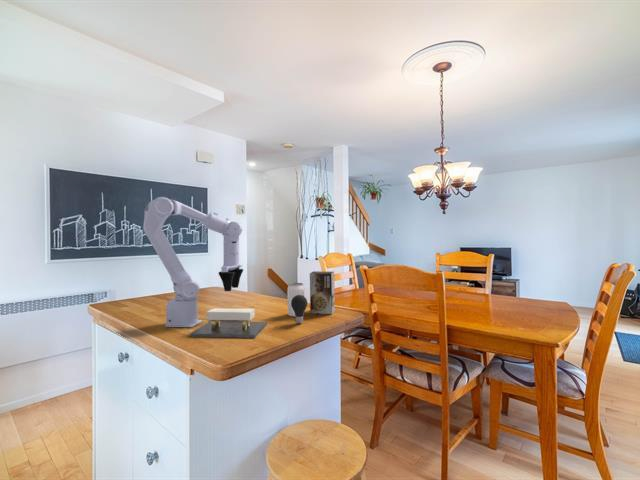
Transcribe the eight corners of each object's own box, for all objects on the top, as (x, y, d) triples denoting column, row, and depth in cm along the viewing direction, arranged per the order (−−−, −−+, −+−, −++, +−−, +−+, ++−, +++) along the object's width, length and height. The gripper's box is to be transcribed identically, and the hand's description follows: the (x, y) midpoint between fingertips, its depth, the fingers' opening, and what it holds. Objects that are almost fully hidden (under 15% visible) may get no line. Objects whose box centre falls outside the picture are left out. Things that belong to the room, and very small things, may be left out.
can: (301, 317, 114) (301, 285, 114) (285, 316, 115) (285, 284, 115) (306, 313, 120) (305, 282, 120) (290, 312, 121) (290, 282, 121)
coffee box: (335, 310, 124) (334, 271, 124) (332, 314, 118) (332, 273, 118) (313, 309, 126) (313, 270, 126) (309, 313, 120) (309, 272, 120)
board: (206, 319, 96) (206, 311, 96) (213, 315, 101) (213, 308, 101) (250, 320, 95) (250, 312, 95) (254, 316, 100) (254, 308, 100)
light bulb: (292, 326, 102) (292, 296, 102) (290, 321, 108) (290, 293, 108) (308, 325, 103) (308, 296, 103) (306, 321, 109) (305, 293, 109)
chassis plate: (190, 336, 92) (190, 323, 92) (210, 323, 106) (210, 312, 106) (255, 338, 90) (255, 324, 90) (266, 324, 104) (266, 313, 104)
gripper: (234, 254, 108) (235, 292, 108) (247, 252, 122) (247, 286, 122) (215, 254, 108) (215, 292, 108) (230, 252, 123) (230, 286, 123)
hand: (231, 289), depth 115 cm, fingers open, 7 cm apart
